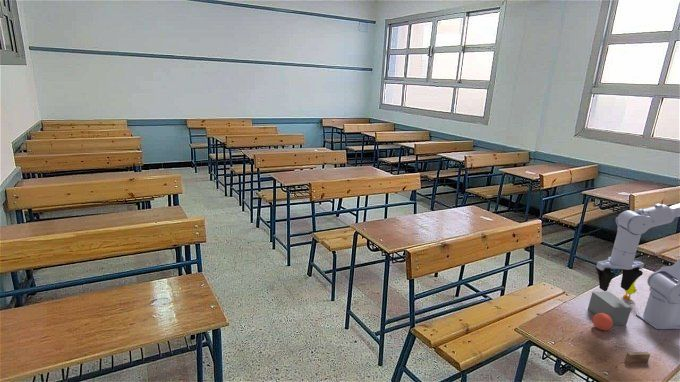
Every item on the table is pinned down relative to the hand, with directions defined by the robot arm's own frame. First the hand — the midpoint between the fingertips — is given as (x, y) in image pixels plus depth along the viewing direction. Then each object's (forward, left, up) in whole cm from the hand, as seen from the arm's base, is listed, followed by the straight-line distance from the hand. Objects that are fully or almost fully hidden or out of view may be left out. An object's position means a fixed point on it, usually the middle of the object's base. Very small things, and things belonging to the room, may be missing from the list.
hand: (613, 289), depth 120 cm
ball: (+7, +6, -8) cm, 12 cm away
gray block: (0, 0, -10) cm, 10 cm away
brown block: (+8, +20, -10) cm, 23 cm away
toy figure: (-17, -11, -10) cm, 23 cm away
